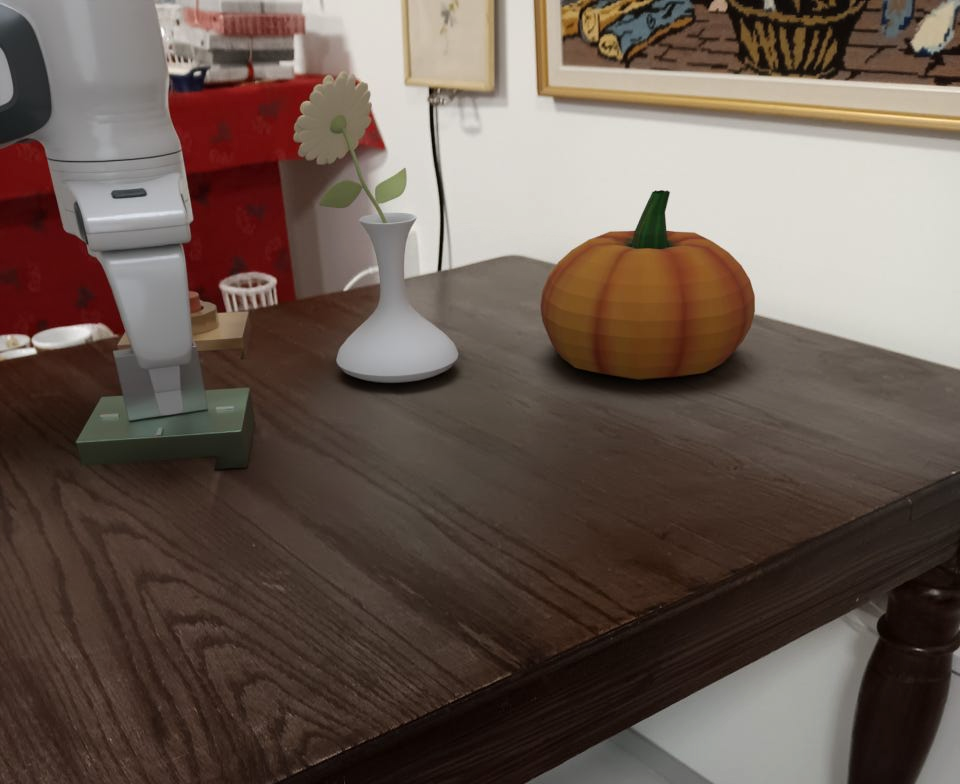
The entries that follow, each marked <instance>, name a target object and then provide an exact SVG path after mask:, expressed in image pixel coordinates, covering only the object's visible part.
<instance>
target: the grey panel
mask: <svg viewBox="0 0 960 784" xmlns="http://www.w3.org/2000/svg"><path fill="white" fill-rule="evenodd" d="M112 354H113V357H114V363H115V367H116V371H117V377H118V380H119V385H120V390H121V393H122V394H121V395H122V396H123V399H124V403H125V407H126V412H127V416H128V419H129V421H133V420H140V419H146V418H153V417H160V416H165V415H162V414H161V413H160V412H159V410H158V407H157V404H156V399H155V394H154V389H153V385H152V382H151V378H150V375H149V371H148V369H143V368H141V367H140V366H139V364H138V363H137V360H136V358H135V356H134V353H133V350H132V348H131V349H124V350H118V349H116V350H113V351H112ZM179 367H180V385H181V395H182V400H183V405H184V409H183V411H182V412H181V413H187V412H193V411H200V410H207V409H208V406H207V400H206V395H205V390H206V389H205V385H204V384H205V383H204V378H203V374H202V367H201V362H200V357H199V351H198V350H197V346H196V344H195V342H194V341H193V350H192V359H191V361H190V362H189V363H188V364H184V365H179ZM179 414H180V413H179Z"/></svg>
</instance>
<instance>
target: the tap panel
mask: <svg viewBox="0 0 960 784" xmlns="http://www.w3.org/2000/svg"><path fill="white" fill-rule="evenodd" d="M205 395H206V400H207V406H208V409H207V410H200V411H193V412H187V413H180V414H173V415H166V416H160V417H153V418H146V419H140V420H133V421H129V419H128V416H127V412H126V407H125V403H124V399H123V395H111V396H101V397H100V398H99V401H98V403H97V404H96V406H95V408H94V409H93V410H92V413H91V415H90V417H89V418H88V420H87V421H86V423H85V425H84V426H83V429H82V430H81V432H80V433H79V435H78V437H77V439H76V440H75V445H76V448H77V452H78V457H79V460H80V464H81V466H82V467H85V466H96V465H97V466H99V465H111V464H113V465H114V464H125V463H126V464H128V463H138V462H139V463H140V462H155V461H166V460H167V461H169V460H180V459H181V460H182V459H194V458H195V459H196V458H210V457H216V460H215V464H214V469H213V471H219V470H233V469H247V468H248V465H249V459H250V454H251V453H250V452H251V447H252V442H253V435H254V431H255V430H254V428H255V423H256V419H255V412H254V405H253V399H252V393H251V388H250V387H234V388H220V389H205Z"/></svg>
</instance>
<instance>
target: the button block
mask: <svg viewBox="0 0 960 784" xmlns="http://www.w3.org/2000/svg"><path fill="white" fill-rule="evenodd" d="M200 305H201V311H199V312H196V313H191V324H192V337H193V341H194V342H195V344H196V346H197V350H198V352H205V351H222V350H223V351H224V350H238V349H240V350H241V349H242V352H241V356H240V360H246V358H247V355H248V351H249V346H250V341H251V336H252V332H253V330H252V323H251V317H250V311H247V310H245V311H230V312H229V311H228V312H218V309H217V305H216V304H214V303H212V302H209V301H201V300H200ZM116 346H117V350H124V349H131V345H130V342H129V339H128V337H127V334H126V331H124V333H123V335H122V336H121V338H120V339H119V342H118V343H117V345H116Z"/></svg>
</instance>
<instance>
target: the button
mask: <svg viewBox="0 0 960 784" xmlns="http://www.w3.org/2000/svg"><path fill="white" fill-rule="evenodd" d="M189 301H190V312H191V313H196V312H199V311H201V305H200V301H201V300H200V295H199V293H198V292H196V291H193V290H189Z"/></svg>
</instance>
